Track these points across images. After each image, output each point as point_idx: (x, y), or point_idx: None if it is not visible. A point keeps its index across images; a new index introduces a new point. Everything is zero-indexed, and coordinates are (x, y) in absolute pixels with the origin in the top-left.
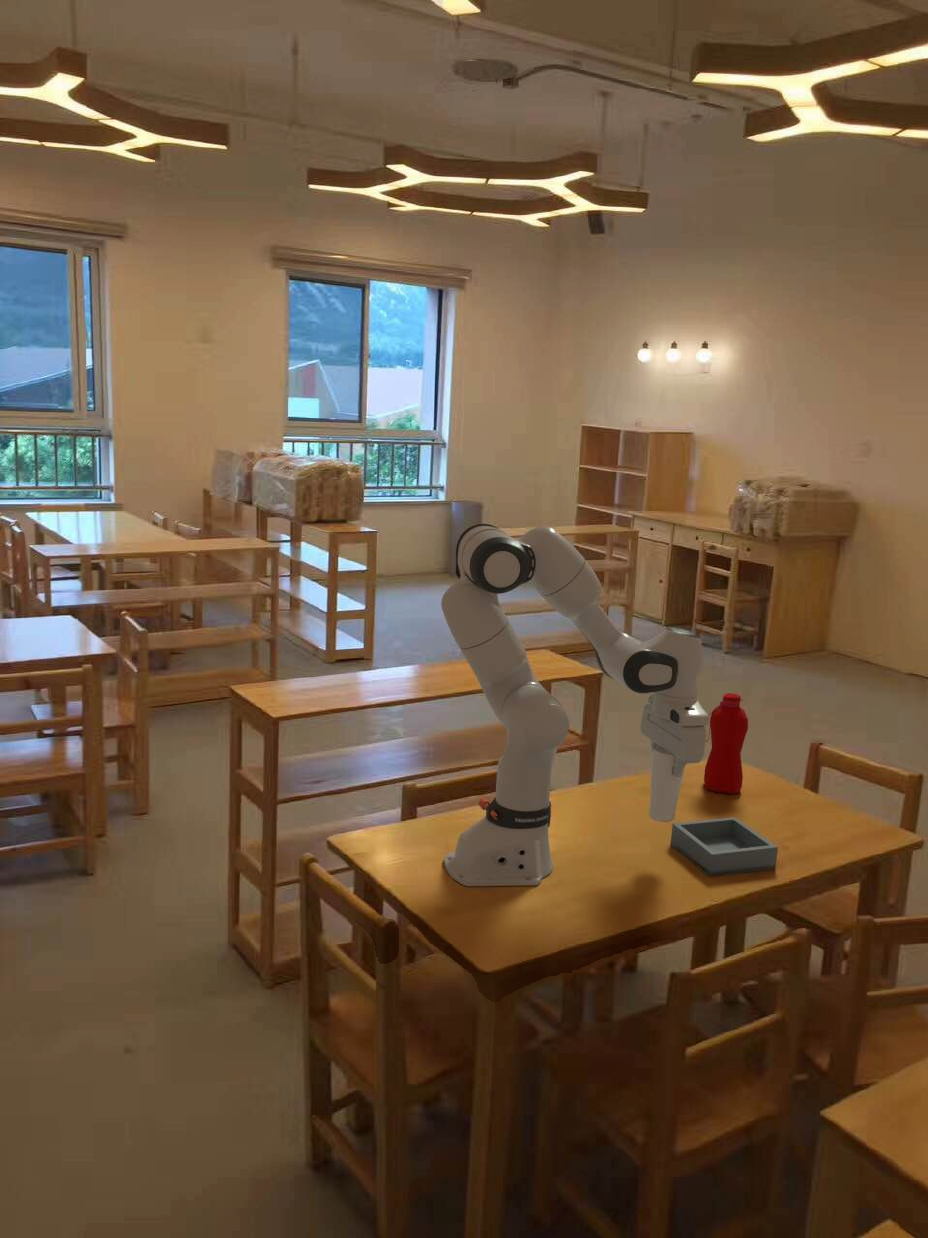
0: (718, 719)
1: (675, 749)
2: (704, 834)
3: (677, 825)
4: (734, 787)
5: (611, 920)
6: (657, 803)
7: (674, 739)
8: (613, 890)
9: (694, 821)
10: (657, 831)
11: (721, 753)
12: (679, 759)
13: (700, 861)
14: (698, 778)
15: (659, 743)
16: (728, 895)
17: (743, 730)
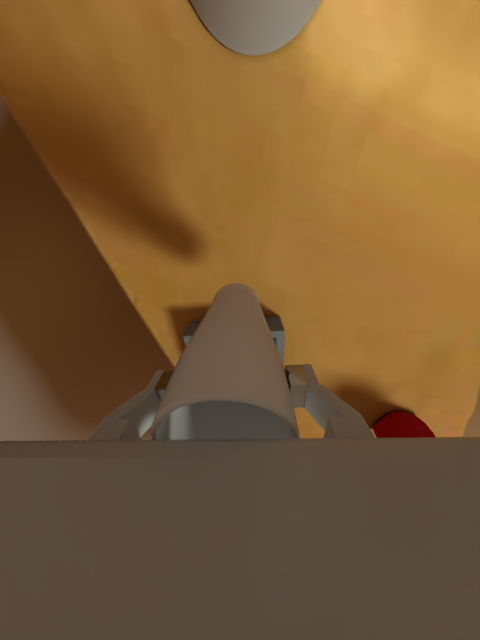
0: None
1: (44, 486)
2: None
3: (276, 333)
4: (377, 431)
5: (46, 117)
6: (215, 300)
7: (2, 592)
8: (149, 168)
9: (283, 358)
10: (320, 316)
11: None
12: (93, 436)
13: None
14: (431, 415)
15: (247, 453)
16: (149, 321)
17: None
